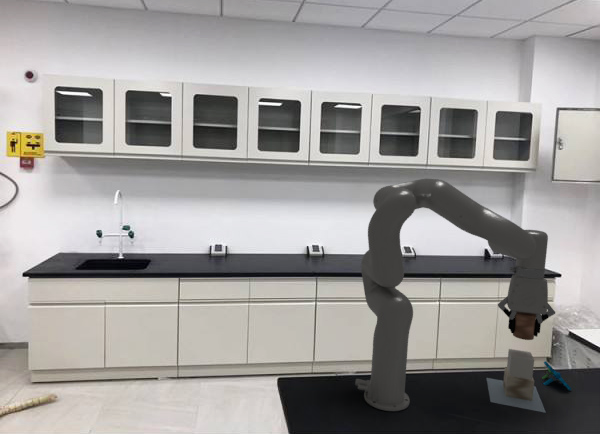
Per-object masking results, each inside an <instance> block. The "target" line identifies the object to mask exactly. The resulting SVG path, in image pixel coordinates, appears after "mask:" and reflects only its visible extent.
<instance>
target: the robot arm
mask: <svg viewBox="0 0 600 434" xmlns="http://www.w3.org/2000/svg"><path fill="white" fill-rule="evenodd" d="M372 201H373V202H372V203H373V206H374V209H375V211H374V213H373V214H372V216H371V218H370V220H369V222H368V227H367V239H368V241H367V243H368V250H367V251H366V252H365V253H364V254H363V256H362V259H361V262H360V268H361V276H362V277H361V278H362V284H363V290H364V291H363V292H364V297H365V301H366V304H367V307H368V308H369V309H370V310H371V311H372V313H373V314H374V315H375V316H376V318H377V319H376V323H375V328H374V332H373V338H372V355H371V356H372V358H371V372H370V373H371V374H370V379H366V380H364V379H361V378H355V384H354V385H355V386H356V387H357V390H360V391H364V394H363V398H364V400H365V402H366V403H367V404H368V405H369V406H371V407H373V408H375V409H378V410H382V411H385V412H400V411H403V410H405V409H407V408H408V407H409V406H410V400H411V399H410V397H409V395H408V394H407V393H406V392H405V391H406V390H405V389H406V378H407V363H408V361H407V360H408V350H409V349H408V348H409V347H408V346H409V337H410V330H411V326H412V321H413V317H414V307H413V305H412V302H411V301H410V299H409V298H408V297H407V295H405V294H404V293H402V291H400V290H399V289H397V288H396V287H398V286H400V284H401V282H402V281H403V280H404V277H405V268H404V260H403V253H402V248H401V247H402V246H401V230H402V227H403V225H404V224H405V222H406V221H407V220H408V219H409V218H410V217H411V216H412V215H413V213H414V212H415V210H418V209H422V208H423V209H429V210H430V211H432V212H434V213H436V214H437V215H438V216H440V217H441V218H443V219H444V220H446V221H448V222H449V223H451V224H452V225H454V226H455V227H456V228H458V229H460V230H461V231H464V232H466V233H468V234H470V235H472V236H475V237H478V238H481V239H483V240H486V241H487V244H488V246H489V248H490V249H491V250H492V251H493V252H495V253H497V254H500V255H504V256H507V257H510V258H513V259H515V265H514V266H510V267H509V272H512V273H514V274H512V276H511V279H510V282H509V285H508V291H507V296H506V297H504V298H503V299H502V300H501V301H500V302H498V303H497V307H498V308H499V309H501V311H502V312H503V313H504V314H505V315H506V316H507V317H508V327H507V328H508V329H509V331H510V333H511V334H513V333H514V330H515V319H514V317H515V315H516V313H517V312H523V313H531V314H536V321H535V331H534V337H538V334H540V332H541V328H542V327H541V326H542V323H543V322H545V321H547V319H549V318H551V317H552V316H554V315H555V314H556V311H555V310H554V308H553V307H552V306H551V305H550V303H549V302H548V301H549V299H548V298H549V297H548V295H549V294H548V293H549V290H548V288H549V286H548V280H547V279H546V278H545V271H546V260H547V251H548V241H549V240H548V239H549V236H548V234H547V232H545V231H542V230H538V229H524V228H523V227H521V226H519V225H518V224H516V223H515V222H513V221H511V220H510V219H508V218H506V217H504V216H502V215H500V214H498V213H496V212H494V211H493V210H491V209H489V208H488V207H485V206H484V205H482V204H481V203H478V201H475V200H474V199H473V198H471V197H470V196H468V195H466V194H465V193H464V192H462V191H461V190H459V189H457V188H456V187H455V186H454V185H452V184H450V183H449V182H447V181H445V180H443V179H438V178H437V179H436V178H420V179H416V180H412V181H406V182H402V183H396V184H390V185H385V186H383V187H381V188H379V189H378V190H377V191H376V192H375V194H374V197H373V200H372ZM506 305H507V307H508V308H507V307H506Z"/></svg>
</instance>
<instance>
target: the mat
mask: <svg viewBox="0 0 600 434" xmlns="http://www.w3.org/2000/svg"><path fill="white" fill-rule="evenodd" d="M503 381H504V380H502V379H495V378H490V377H486V382H487V389H488V395H489V400H490V403H495V404H499V405H504V406H510V407H514V408H520V409H525V410H529V411H535V412H539V413H540V412H541V413H547V412H546V410H545V408H544V404H543V402H542V400H541V398H540V397H541V396H540V395H539V392H538V389H537V387H536V386H535V385H534V389H533V399H532V401H529V400H524V399H519V398H513V397H508V396H506V395H505V391H504V387H503Z"/></svg>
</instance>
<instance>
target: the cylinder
mask: <svg viewBox="0 0 600 434" xmlns="http://www.w3.org/2000/svg"><path fill="white" fill-rule="evenodd" d="M514 319H515V330H514V333H512V336H513V337H514V338H517V339H519V340H525V341H532V340H534V339H535V336H534V331H535V321H536V314H531V313H523V312H517V313H516V315H515V317H514Z"/></svg>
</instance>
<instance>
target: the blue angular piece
mask: <svg viewBox="0 0 600 434" xmlns="http://www.w3.org/2000/svg"><path fill="white" fill-rule="evenodd" d="M543 363H544V365H545V366H546V368H547V372H546V374H545V375H543V376H542V377H541V379H543V380H544V379H545V380H546V379H547V378H548V377H550V378H549V379H547V380H546V381H544V382H543V385H544V386H549V385H550V384H551V383H552V382H556V381H557V380H558V381H560V383H561V384H562V385H563V386H564V387H565V388H567V390H568V391H571V390H572V387H571V386H570V385H569V384H568V383H567V382H566V381H565V380H564V378H562V374H561V373H560V372H558V371H557V370H555V369H554V368H553V367H552V366H551V364H549V363H548V362H547V361H544V362H543Z"/></svg>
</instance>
